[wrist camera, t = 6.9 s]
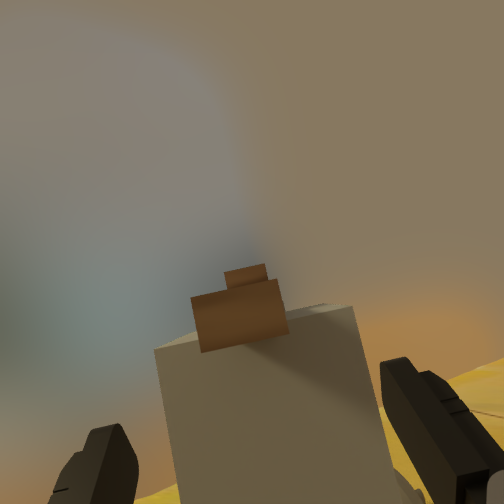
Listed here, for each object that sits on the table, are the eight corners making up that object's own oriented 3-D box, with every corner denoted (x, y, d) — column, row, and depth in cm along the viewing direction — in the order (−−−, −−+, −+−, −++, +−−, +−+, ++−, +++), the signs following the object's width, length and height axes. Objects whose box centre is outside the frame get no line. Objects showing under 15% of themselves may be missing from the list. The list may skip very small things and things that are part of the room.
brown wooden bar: (289, 333, 16) (265, 227, 17) (201, 353, 16) (180, 246, 17) (276, 314, 37) (265, 267, 37) (237, 322, 37) (228, 275, 37)
